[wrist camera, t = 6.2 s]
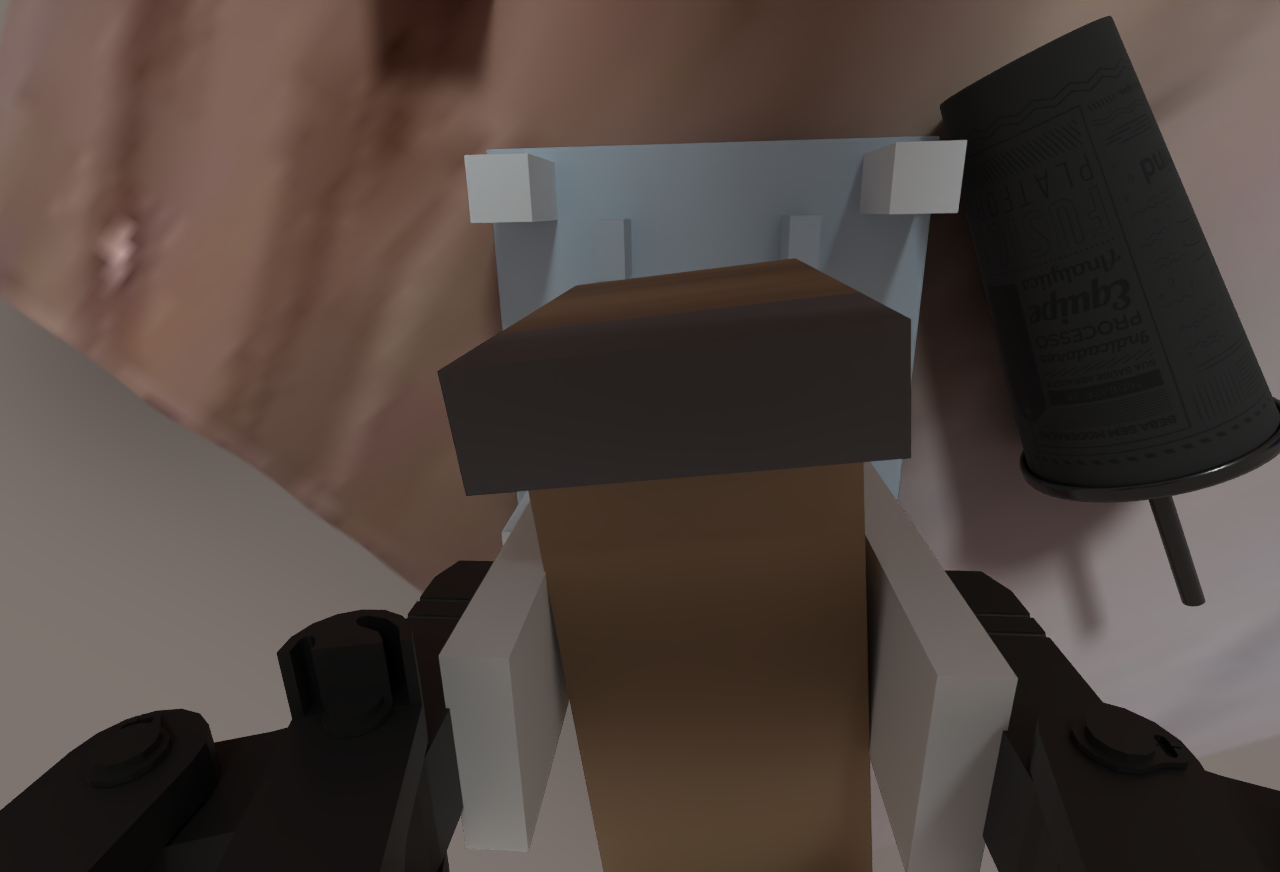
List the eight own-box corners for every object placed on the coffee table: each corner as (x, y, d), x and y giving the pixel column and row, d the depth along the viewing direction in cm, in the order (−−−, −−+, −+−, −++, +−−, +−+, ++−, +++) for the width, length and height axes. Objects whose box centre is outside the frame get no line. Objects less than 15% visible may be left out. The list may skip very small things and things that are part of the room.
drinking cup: (932, 117, 26) (1086, 550, 29) (862, 138, 21) (1059, 663, 24) (1177, -13, 20) (1328, 538, 24) (1166, -27, 15) (1361, 679, 19)
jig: (494, 151, 25) (446, 137, 20) (930, 138, 24) (987, 120, 19) (526, 530, 30) (494, 590, 25) (885, 538, 29) (921, 602, 24)
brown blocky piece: (818, 712, 15) (969, 1351, 7) (643, 719, 15) (576, 1322, 7) (795, 258, 12) (1029, 379, 3) (575, 285, 12) (310, 451, 4)
